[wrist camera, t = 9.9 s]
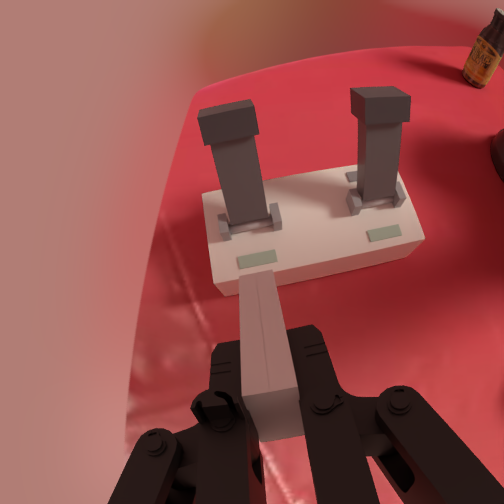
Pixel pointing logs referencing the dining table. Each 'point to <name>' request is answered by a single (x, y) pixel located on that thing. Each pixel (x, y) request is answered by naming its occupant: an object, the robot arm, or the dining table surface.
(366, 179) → the inner lever
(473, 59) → the sauce bottle
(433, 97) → the dining table surface
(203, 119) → the outer lever
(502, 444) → the dining table surface
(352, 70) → the dining table surface
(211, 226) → the switch panel
